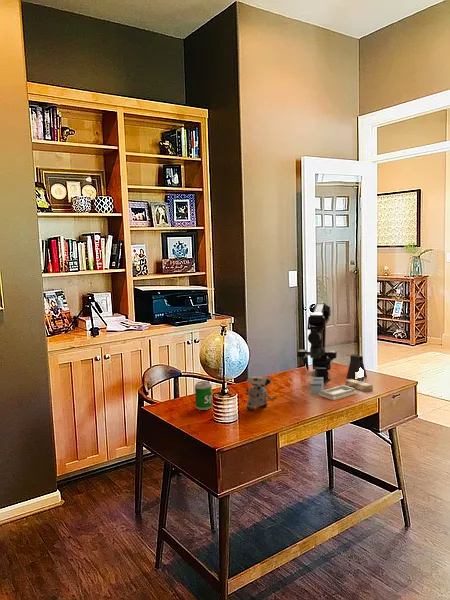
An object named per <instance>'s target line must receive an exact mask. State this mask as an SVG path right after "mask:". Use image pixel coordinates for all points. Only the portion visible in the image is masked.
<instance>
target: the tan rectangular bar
mask: <svg viewBox="0 0 450 600" xmlns="http://www.w3.org/2000/svg"><path fill="white" fill-rule="evenodd" d="M345 386H349V387H350V386H351V387H352V388H353V387H355V389H356V388H358V389H357V390H359V389H360V390H359V391H363V392H366V393H368V392H372V391H374V390H373V388H374V387H373V386H374V385H373V384H371V383H366V382H363V381H360V380H354V379H350V378H347V379H345Z"/></svg>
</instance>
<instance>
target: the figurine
mask: <svg viewBox="0 0 450 600" xmlns="http://www.w3.org/2000/svg"><path fill="white" fill-rule="evenodd" d="M246 382H247V383H249V384H250V385H251V386H249V387H246V389H245V391H246V392H245V396H248V399H247V402H246V410H247V409H248V410H247V411H251V412H252V411H253V412H255V411H256V408H255V407H263V408H267V407H268V404H267V403H268V402H267V399H268V400H270V401H271V402H274V401H275V400H277V397H276V395H275V396H274V397H271V396H270V395H269V394H268V393H267V391H268V390H267V389H266V388H265V387H268V386H270V384H272V379H271V378H270V377H269V376H254V375H252V376H249V377H248V378H247V379H246Z"/></svg>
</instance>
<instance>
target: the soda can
mask: <svg viewBox="0 0 450 600" xmlns="http://www.w3.org/2000/svg"><path fill="white" fill-rule="evenodd" d="M212 386H213V385H212V384H211V383H210V381H207V380H201V381H198V382H196V384H195V385H194V395H195V397H194V398H195V408H196V409H197V410H198V409H199V410H198V411H200V410H207V411H209V410H208V409H210V408H212V407H213V389H212ZM210 410H211V409H210Z"/></svg>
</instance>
